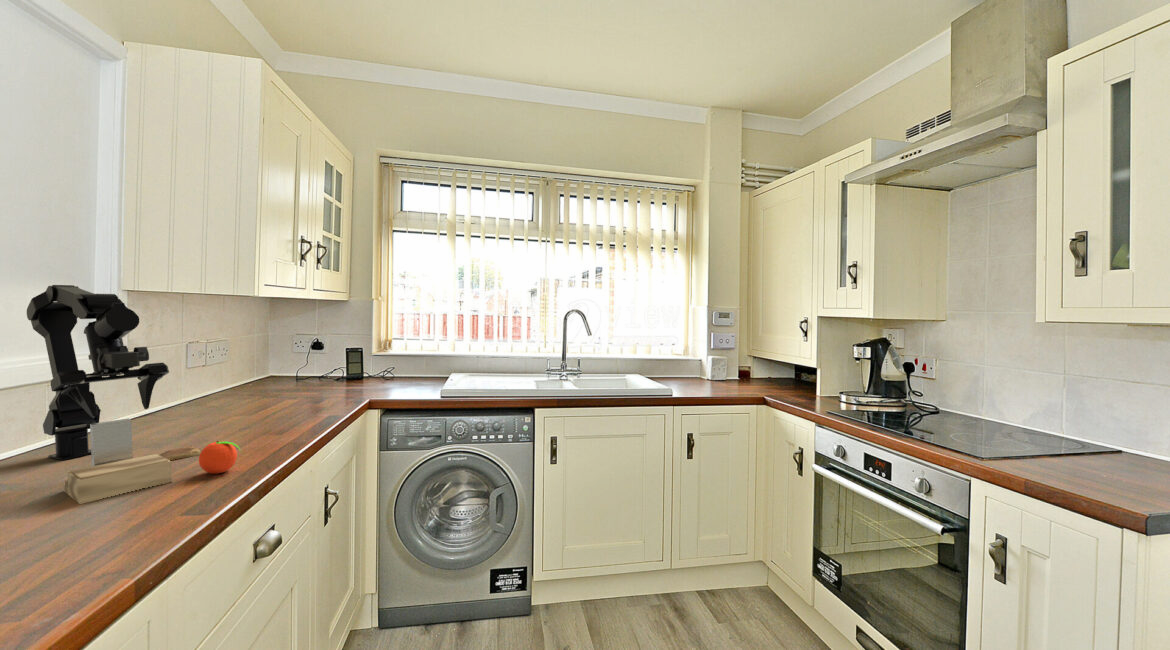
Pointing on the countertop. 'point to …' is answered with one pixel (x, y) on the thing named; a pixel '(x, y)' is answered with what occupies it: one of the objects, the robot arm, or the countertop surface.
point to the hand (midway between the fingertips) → (121, 412)
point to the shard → (181, 453)
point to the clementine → (218, 457)
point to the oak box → (117, 478)
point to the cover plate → (111, 441)
